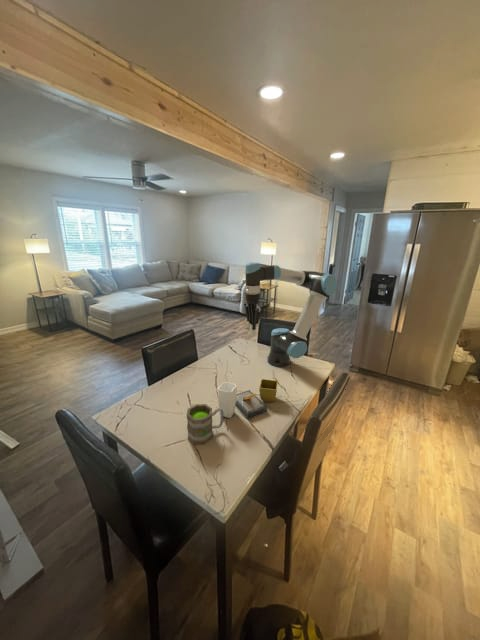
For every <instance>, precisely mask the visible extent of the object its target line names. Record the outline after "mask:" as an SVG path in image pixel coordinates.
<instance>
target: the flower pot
mask: <svg viewBox="0 0 480 640" xmlns="http://www.w3.org/2000/svg"><path fill="white" fill-rule="evenodd" d="M259 384H260V385H259V388H258V389H259V397H260V400H261V401H262V402H268V403H273V402H274V400H276V398H277V397H276V396H277V392H278V391H277V390H278V384H279V382H278V380H274V379H273V380H272V379H266V378H261V379H260V383H259Z"/></svg>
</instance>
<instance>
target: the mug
mask: <svg viewBox="0 0 480 640" xmlns="http://www.w3.org/2000/svg"><path fill="white" fill-rule="evenodd" d="M186 411H187V412H186V419H187V421H186V422H187V441H189V442H190V443H191V444H192V445H195V446H198V445H199V446H200V445H201V446H202V445H203V446H204V445H205V444H207V443H209V442H210V441H212V440H213V429H220V427H222V426H223V423H224V416H223V410H222V408H219V407H217V408H215V409H214V411H213V408H212V407H210V406H209V405H208V404H206V403H205V404H204V403H198V404H197V403H196V404H194V405H192V406H191V407H188V409H187V410H186ZM219 411H221V415H220V422H219V424H213V416H215V415H217V413H218V412H219Z"/></svg>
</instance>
